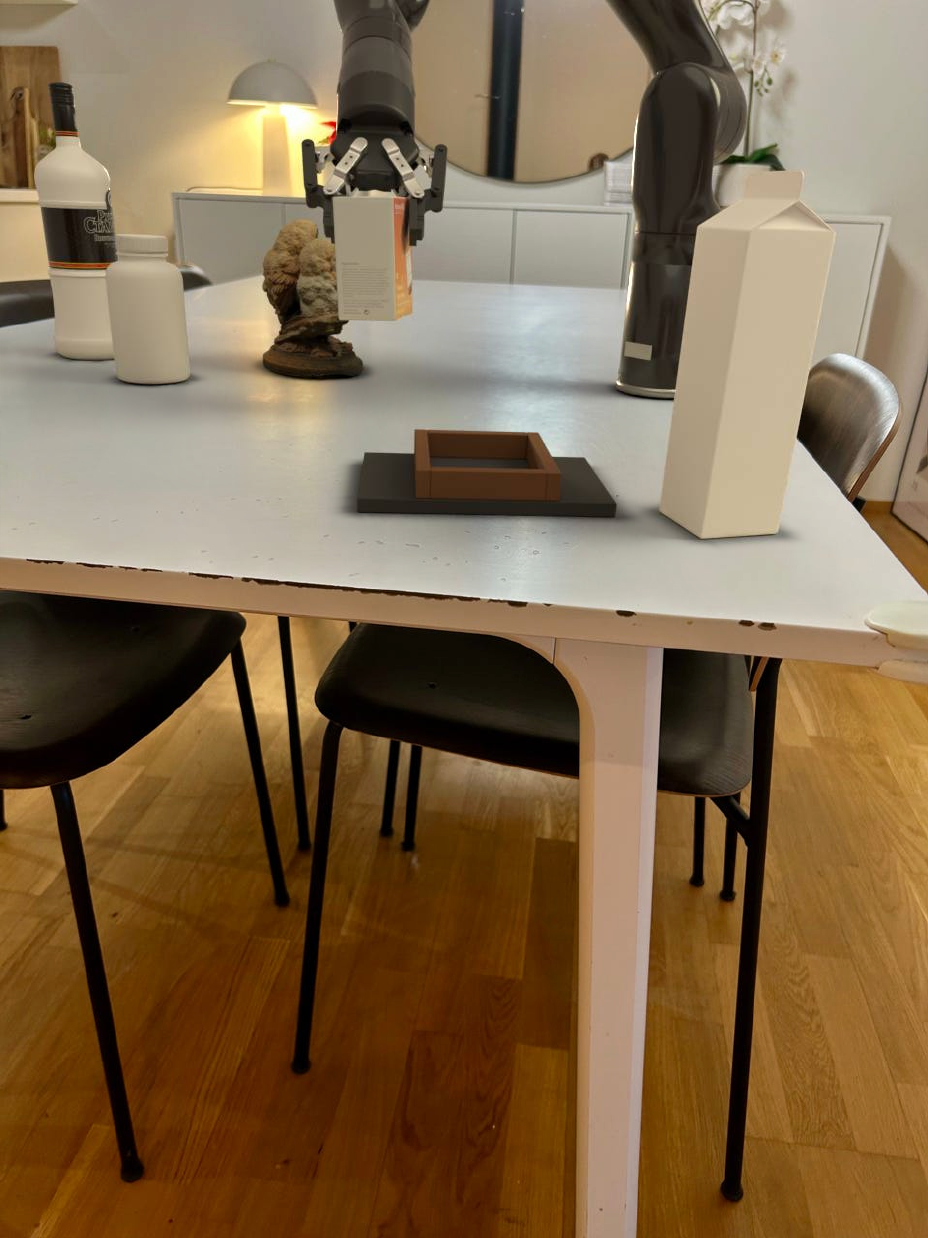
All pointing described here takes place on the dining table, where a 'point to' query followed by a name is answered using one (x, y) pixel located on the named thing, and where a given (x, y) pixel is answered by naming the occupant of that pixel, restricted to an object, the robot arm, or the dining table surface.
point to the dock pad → (481, 477)
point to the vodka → (76, 236)
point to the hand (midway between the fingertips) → (373, 237)
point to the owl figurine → (306, 305)
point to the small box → (373, 257)
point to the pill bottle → (147, 312)
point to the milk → (745, 359)
